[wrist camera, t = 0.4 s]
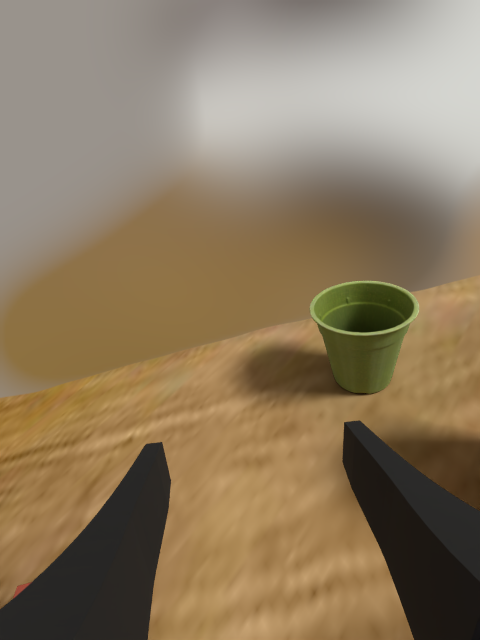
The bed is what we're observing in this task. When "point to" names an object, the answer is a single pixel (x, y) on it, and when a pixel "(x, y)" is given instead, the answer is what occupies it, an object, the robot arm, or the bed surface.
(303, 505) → the bed surface
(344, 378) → the plant pot
